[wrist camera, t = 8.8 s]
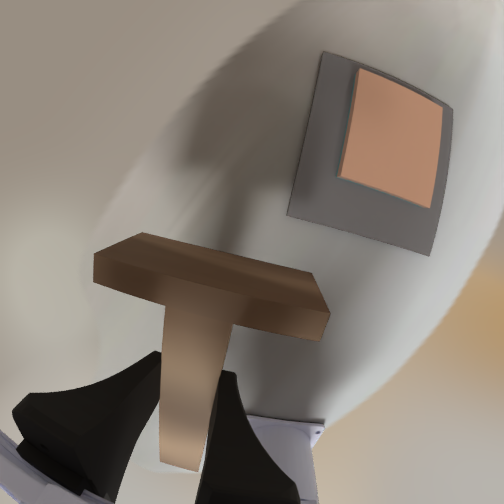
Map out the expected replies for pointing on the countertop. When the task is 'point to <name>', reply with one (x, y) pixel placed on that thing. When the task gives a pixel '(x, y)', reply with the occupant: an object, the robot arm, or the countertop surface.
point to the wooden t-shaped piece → (205, 321)
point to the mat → (351, 194)
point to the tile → (391, 140)
